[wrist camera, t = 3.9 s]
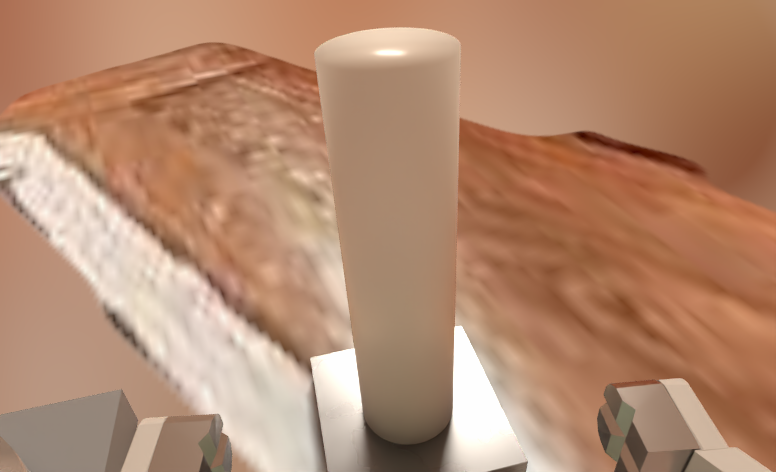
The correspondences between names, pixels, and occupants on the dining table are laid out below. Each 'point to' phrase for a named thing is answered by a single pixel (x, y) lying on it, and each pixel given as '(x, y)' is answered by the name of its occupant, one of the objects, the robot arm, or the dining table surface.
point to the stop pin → (397, 216)
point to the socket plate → (427, 459)
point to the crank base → (73, 434)
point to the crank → (10, 459)
